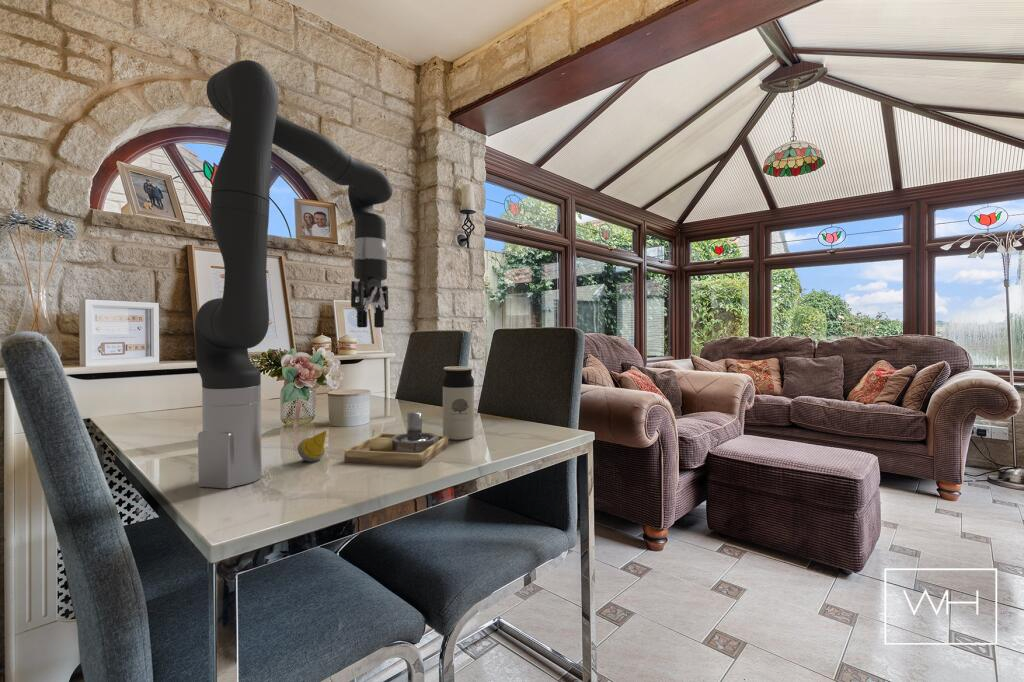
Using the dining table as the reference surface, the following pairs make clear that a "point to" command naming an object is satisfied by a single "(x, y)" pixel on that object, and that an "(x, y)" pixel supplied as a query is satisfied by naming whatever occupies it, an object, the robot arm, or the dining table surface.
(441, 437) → the carrier
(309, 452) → the yellow grey teardrop
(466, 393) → the travel mug
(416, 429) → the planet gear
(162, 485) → the dining table surface
